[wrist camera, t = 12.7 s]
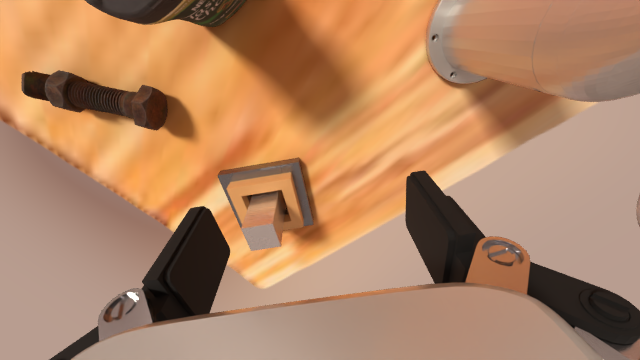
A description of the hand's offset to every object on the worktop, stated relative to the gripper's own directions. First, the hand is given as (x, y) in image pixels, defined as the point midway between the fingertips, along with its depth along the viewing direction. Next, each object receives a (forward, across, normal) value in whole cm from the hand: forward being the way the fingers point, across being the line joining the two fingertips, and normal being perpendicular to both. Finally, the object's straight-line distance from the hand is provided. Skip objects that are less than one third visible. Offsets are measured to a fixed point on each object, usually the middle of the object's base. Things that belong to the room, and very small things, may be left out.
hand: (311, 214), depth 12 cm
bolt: (+27, +27, -5) cm, 38 cm away
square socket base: (+26, +10, +16) cm, 32 cm away
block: (+26, +10, +16) cm, 32 cm away
